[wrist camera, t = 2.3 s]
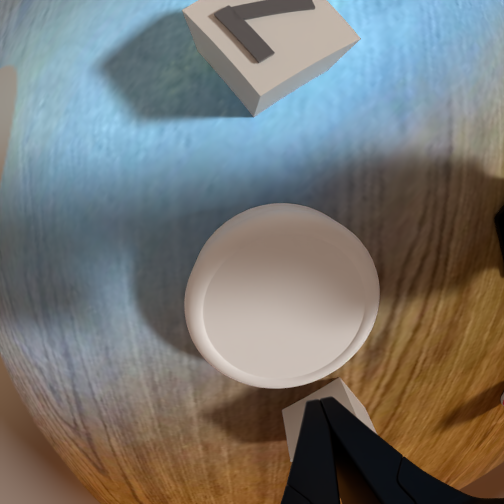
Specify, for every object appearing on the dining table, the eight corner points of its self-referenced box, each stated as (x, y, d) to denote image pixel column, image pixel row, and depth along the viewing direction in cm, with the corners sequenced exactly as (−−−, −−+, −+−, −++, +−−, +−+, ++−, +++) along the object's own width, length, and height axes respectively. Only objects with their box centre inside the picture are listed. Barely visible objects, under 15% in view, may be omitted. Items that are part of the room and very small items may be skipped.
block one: (364, 407, 21) (385, 453, 16) (313, 435, 21) (325, 483, 16) (339, 376, 19) (361, 428, 14) (281, 409, 20) (290, 463, 15)
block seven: (327, 71, 14) (362, 37, 9) (253, 117, 14) (260, 95, 9) (271, 8, 12) (283, -42, 7) (197, 51, 13) (181, 8, 8)
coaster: (247, 167, 15) (249, 168, 12) (388, 256, 17) (417, 276, 14) (166, 316, 17) (152, 348, 14) (300, 375, 19) (309, 411, 16)
